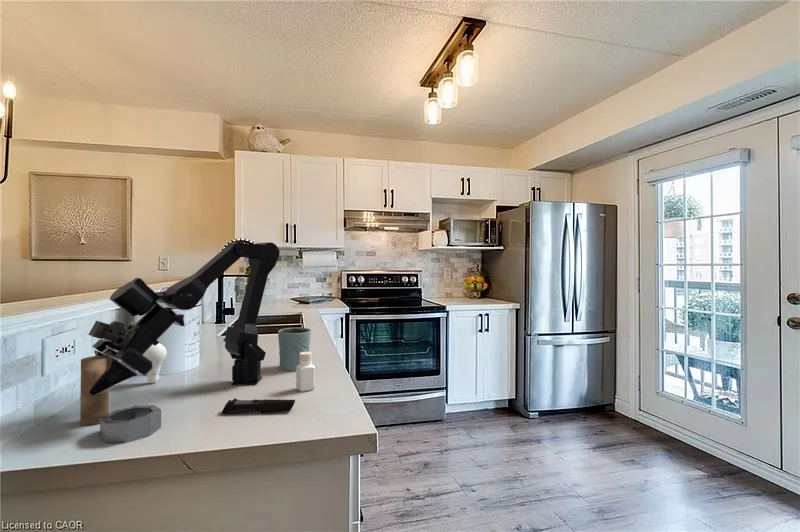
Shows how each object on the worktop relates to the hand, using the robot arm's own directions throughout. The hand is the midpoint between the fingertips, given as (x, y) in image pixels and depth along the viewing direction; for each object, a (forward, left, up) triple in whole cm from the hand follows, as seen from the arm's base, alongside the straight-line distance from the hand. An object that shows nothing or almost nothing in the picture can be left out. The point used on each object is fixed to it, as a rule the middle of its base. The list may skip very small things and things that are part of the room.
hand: (86, 391), depth 77 cm
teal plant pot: (-33, -41, -7) cm, 53 cm away
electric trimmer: (-33, -5, -7) cm, 34 cm away
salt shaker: (-40, -20, -7) cm, 45 cm away
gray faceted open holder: (-11, +4, -7) cm, 14 cm away
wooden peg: (-1, -1, -7) cm, 7 cm away
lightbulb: (+2, -27, -7) cm, 27 cm away
